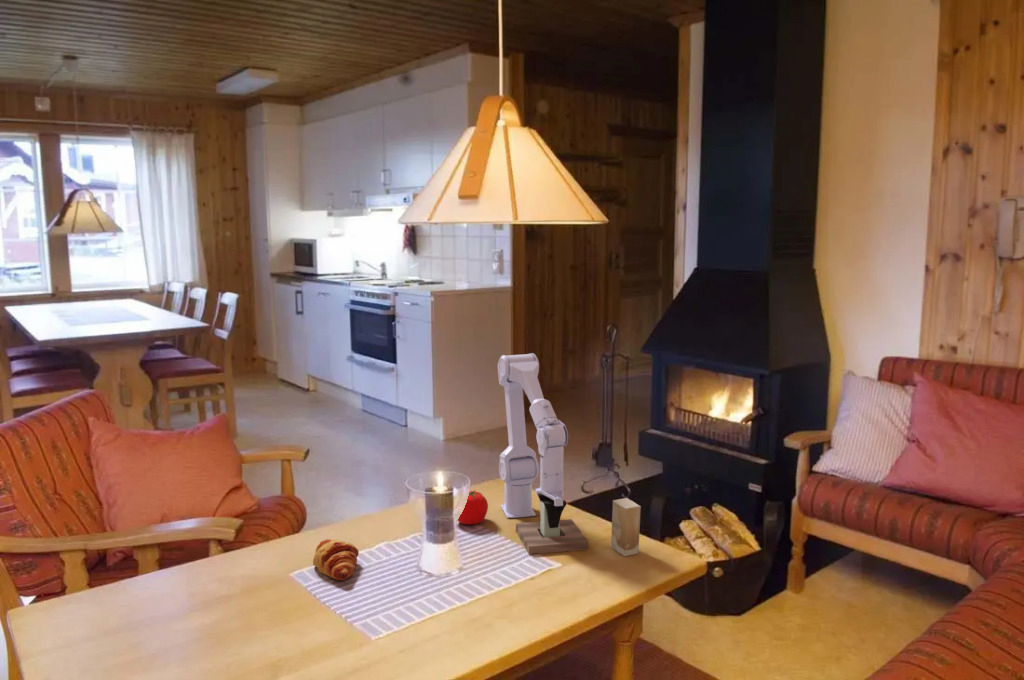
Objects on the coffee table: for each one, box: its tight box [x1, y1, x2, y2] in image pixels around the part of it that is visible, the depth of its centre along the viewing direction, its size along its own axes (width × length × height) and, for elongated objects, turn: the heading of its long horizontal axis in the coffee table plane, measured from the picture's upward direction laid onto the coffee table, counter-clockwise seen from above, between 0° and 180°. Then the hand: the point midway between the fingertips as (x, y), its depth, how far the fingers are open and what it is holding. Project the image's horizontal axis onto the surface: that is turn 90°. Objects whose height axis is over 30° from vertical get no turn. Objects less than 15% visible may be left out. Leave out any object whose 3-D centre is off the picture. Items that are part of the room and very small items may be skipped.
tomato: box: [457, 490, 489, 526], centre depth 209 cm, size 9×10×8 cm
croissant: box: [312, 538, 360, 581], centre depth 182 cm, size 21×10×8 cm, turn 25°
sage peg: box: [539, 501, 560, 538], centre depth 197 cm, size 4×4×8 cm
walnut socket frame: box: [515, 518, 590, 555], centre depth 197 cm, size 15×15×2 cm
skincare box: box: [610, 497, 642, 557], centre depth 190 cm, size 6×4×12 cm
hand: (551, 523), depth 197 cm, fingers closed on sage peg, 4 cm apart
